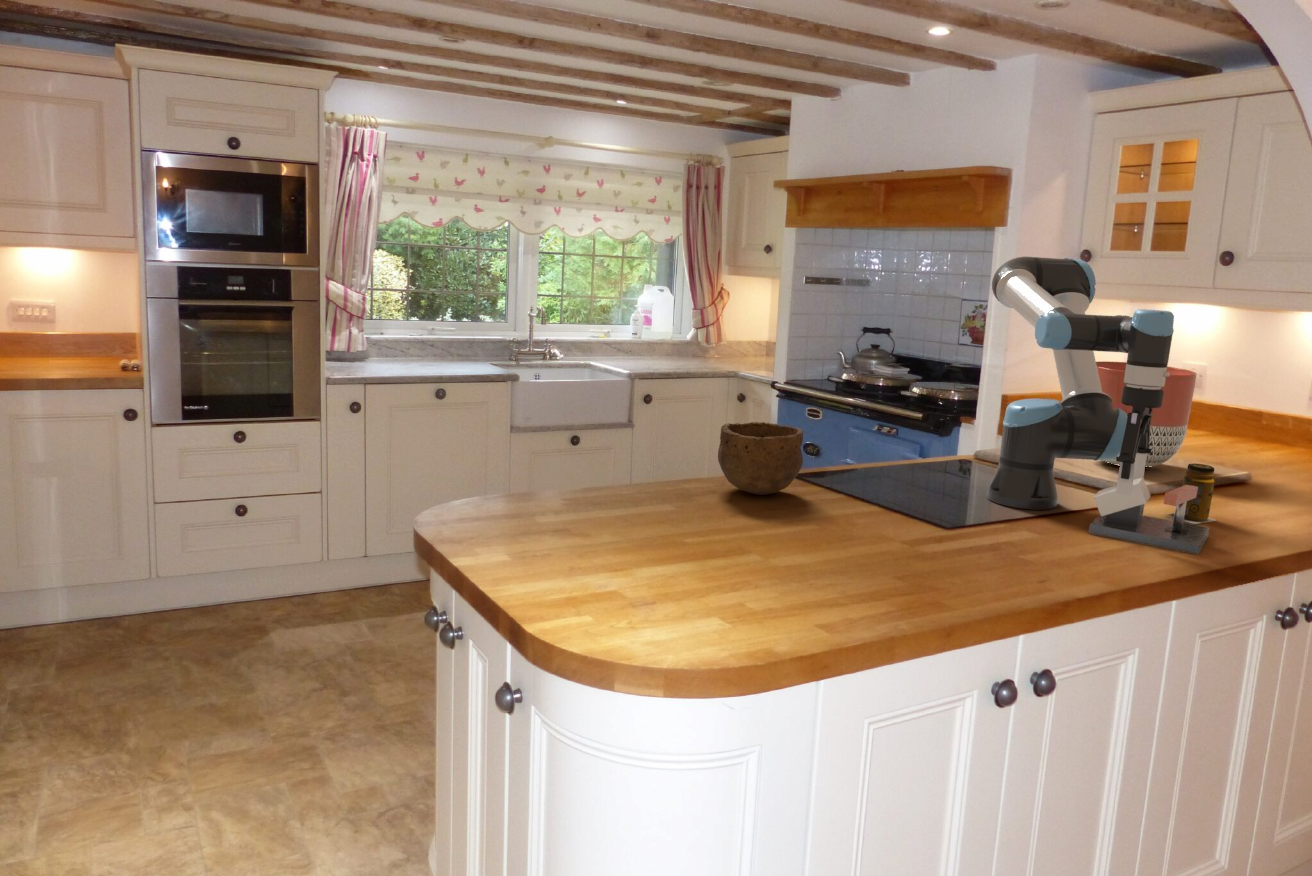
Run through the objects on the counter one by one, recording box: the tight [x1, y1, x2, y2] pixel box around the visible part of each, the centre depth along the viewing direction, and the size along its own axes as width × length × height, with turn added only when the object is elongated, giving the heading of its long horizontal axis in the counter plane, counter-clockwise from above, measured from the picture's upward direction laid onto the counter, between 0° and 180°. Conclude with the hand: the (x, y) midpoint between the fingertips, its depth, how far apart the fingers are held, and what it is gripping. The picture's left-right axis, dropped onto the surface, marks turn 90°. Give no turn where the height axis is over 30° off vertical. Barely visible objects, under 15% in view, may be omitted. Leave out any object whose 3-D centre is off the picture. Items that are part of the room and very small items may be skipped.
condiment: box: [1164, 462, 1216, 525], centre depth 221 cm, size 7×8×12 cm
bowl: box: [717, 421, 804, 496], centre depth 224 cm, size 19×19×15 cm
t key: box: [1163, 485, 1198, 531], centre depth 202 cm, size 12×2×8 cm, turn 135°
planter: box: [1096, 360, 1198, 467], centre depth 273 cm, size 27×27×27 cm
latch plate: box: [1088, 504, 1210, 556], centre depth 206 cm, size 20×16×7 cm
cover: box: [1093, 477, 1151, 516], centre depth 209 cm, size 9×9×4 cm
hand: (1129, 488), depth 208 cm, fingers open, 13 cm apart
